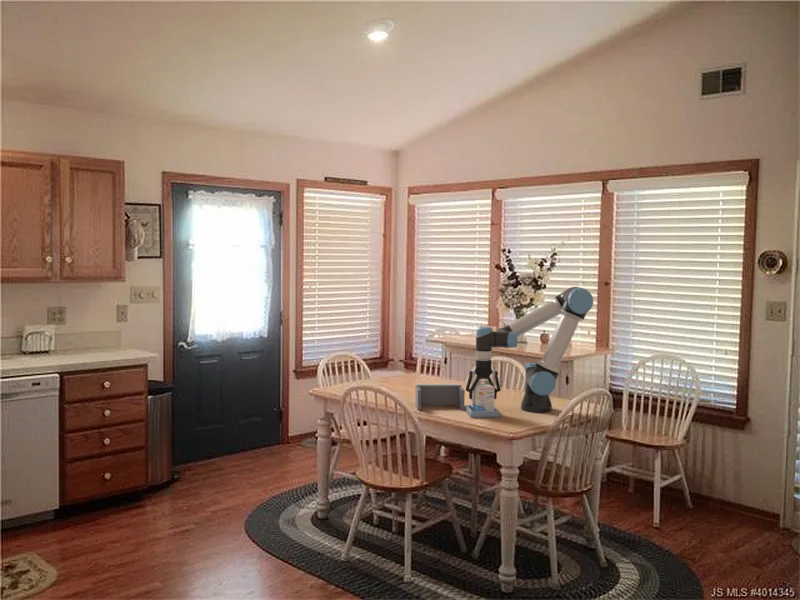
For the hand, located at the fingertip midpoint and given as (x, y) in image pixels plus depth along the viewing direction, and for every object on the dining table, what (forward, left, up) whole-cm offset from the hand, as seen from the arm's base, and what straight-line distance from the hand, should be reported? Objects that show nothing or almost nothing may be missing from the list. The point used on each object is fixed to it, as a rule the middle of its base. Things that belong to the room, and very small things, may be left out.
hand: (482, 405), depth 342 cm
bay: (+19, -14, -4) cm, 24 cm away
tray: (0, 0, -4) cm, 4 cm away
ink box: (0, 0, -2) cm, 2 cm away
